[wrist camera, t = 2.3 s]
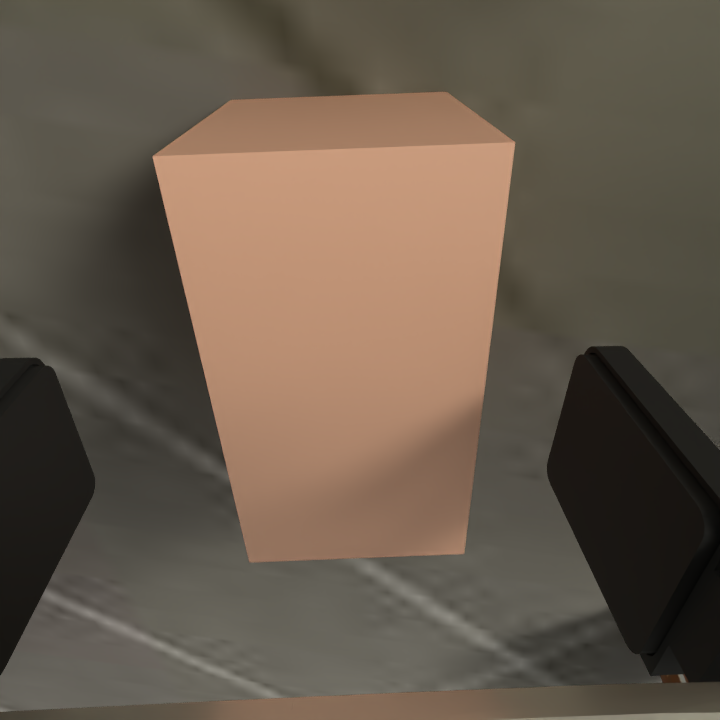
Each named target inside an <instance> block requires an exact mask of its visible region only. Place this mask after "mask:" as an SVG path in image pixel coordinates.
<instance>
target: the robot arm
mask: <svg viewBox="0 0 720 720" xmlns="http://www.w3.org/2000/svg"><path fill="white" fill-rule="evenodd" d="M547 474H548V479H549V482H550V484H551V486H552V488H553V490H554V493H555V495H556V497H557V499H558V501H559V503H560V505H561V507H562V509H563V512H564V514H565V516H566V518H567V520H568V522H569V524H570V526H571V528H572V531H573V533H574V535H575V537H576V539H577V541H578V543H579V545H580V547H581V550H582V552H583V554H584V556H585V558H586V560H587V562H588V564H589V566H590V569H591V571H592V573H593V575H594V577H595V579H596V581H597V583H598V585H599V588H600V590H601V592H602V594H603V596H604V598H605V600H606V602H607V604H608V607H609V609H610V611H611V613H612V615H613V617H614V619H615V621H616V623H617V626H618V628H619V630H620V632H621V634H622V636H623V638H624V640H625V642H626V644H627V646H628V648H629V649H630V650H631V651H632V652H633V653H635V654H640V655H641V657H642V659H643V661H644V663H645V665H646V667H647V669H648V671H649V673H650V676H657V675H679V674H685V676H686V677H687V679H688V681H689V683H646V684H604V685H579V686H554V687H530V688H505V689H480V690H455V691H430V692H407V693H384V694H362V695H340V696H317V697H295V698H274V699H252V700H230V701H209V702H187V703H166V704H147V705H127V706H107V707H88V708H68V709H48V710H29V711H9V712H0V720H720V450H719V449H718V448H717V447H716V446H715V445H714V444H713V442H712V441H711V440H710V439H709V438H708V437H707V436H706V435H705V434H704V433H703V431H702V430H701V429H700V428H699V427H698V426H697V425H696V424H695V423H694V422H693V420H692V419H691V418H690V417H689V416H688V415H687V414H686V413H685V412H684V411H683V409H682V408H681V407H680V406H679V405H678V404H677V403H676V402H675V401H674V400H673V398H672V397H671V396H670V395H669V394H668V393H667V392H666V391H665V390H664V389H663V387H662V386H661V385H660V384H659V383H658V382H657V381H656V380H655V379H654V377H653V376H652V375H651V374H650V373H649V372H648V371H647V370H646V369H645V368H644V366H643V365H642V364H641V363H640V362H639V361H638V360H637V359H636V358H635V357H634V355H633V354H632V353H631V352H630V351H629V350H628V349H627V348H625V347H624V346H597V347H590V348H588V349H587V351H586V352H585V354H584V355H579V356H578V357H577V358H576V360H575V363H574V367H573V370H572V374H571V378H570V381H569V385H568V389H567V392H566V396H565V400H564V403H563V407H562V411H561V415H560V418H559V422H558V426H557V429H556V433H555V437H554V440H553V444H552V448H551V452H550V455H549V459H548V463H547ZM94 489H95V477H94V474H93V471H92V468H91V466H90V463H89V460H88V458H87V455H86V452H85V450H84V447H83V445H82V442H81V439H80V437H79V434H78V431H77V429H76V426H75V423H74V421H73V418H72V415H71V413H70V410H69V408H68V405H67V402H66V400H65V397H64V394H63V392H62V389H61V386H60V384H59V381H58V378H57V376H56V373H55V371H54V370H53V369H52V368H51V367H50V366H45V365H44V363H43V362H42V361H41V360H40V359H38V358H3V359H0V675H1V674H2V672H3V670H4V669H5V667H6V665H7V663H8V661H9V659H10V657H11V655H12V653H13V651H14V649H15V647H16V645H17V643H18V641H19V639H20V637H21V635H22V634H23V632H24V630H25V628H26V626H27V624H28V622H29V620H30V618H31V616H32V614H33V612H34V610H35V608H36V606H37V604H38V602H39V600H40V598H41V596H42V594H43V592H44V590H45V588H46V586H47V584H48V582H49V581H50V579H51V577H52V575H53V573H54V571H55V569H56V567H57V565H58V563H59V561H60V559H61V557H62V555H63V553H64V551H65V549H66V547H67V545H68V543H69V541H70V539H71V537H72V535H73V533H74V531H75V529H76V528H77V526H78V524H79V522H80V520H81V518H82V516H83V514H84V512H85V510H86V508H87V506H88V504H89V502H90V500H91V498H92V496H93V493H94Z"/></svg>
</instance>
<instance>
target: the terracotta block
mask: <svg viewBox="0 0 720 720" xmlns="http://www.w3.org/2000/svg"><path fill="white" fill-rule="evenodd" d="M514 148H515V142H514V141H513V140H511V139H510V138H509V137H507V136H506V135H505V134H503V133H502V132H501V131H499V130H498V129H496V128H495V127H494V126H492V125H491V124H490V123H488V122H487V121H486V120H484V119H483V118H481V117H480V116H479V115H477V114H476V113H475V112H473V111H472V110H471V109H469V108H468V107H466V106H465V105H464V104H462V103H461V102H460V101H458V100H457V99H456V98H454V97H453V96H452V95H450V94H449V93H447V92H424V93H398V94H372V95H346V96H320V97H294V98H268V99H242V100H230V101H229V102H227V103H226V104H225V105H223V106H222V107H220V108H219V109H218V110H216V111H215V112H213V113H212V114H211V115H209V116H208V117H207V118H205V119H204V120H202V121H201V122H200V123H198V124H197V125H195V126H194V127H193V128H191V129H190V130H188V131H187V132H186V133H184V134H183V135H181V136H180V137H179V138H177V139H176V140H174V141H173V142H172V143H170V144H169V145H167V146H166V147H165V148H163V149H162V150H160V151H159V152H158V153H156V154H155V155H154V156H153V161H154V165H155V169H156V173H157V177H158V182H159V186H160V190H161V194H162V198H163V203H164V207H165V211H166V215H167V219H168V223H169V228H170V232H171V236H172V240H173V244H174V249H175V253H176V257H177V261H178V265H179V270H180V274H181V278H182V282H183V286H184V290H185V295H186V299H187V303H188V307H189V311H190V316H191V320H192V324H193V328H194V332H195V337H196V341H197V345H198V349H199V353H200V357H201V362H202V366H203V370H204V374H205V378H206V383H207V387H208V391H209V395H210V399H211V403H212V408H213V412H214V416H215V420H216V424H217V429H218V433H219V437H220V441H221V445H222V450H223V454H224V458H225V462H226V466H227V470H228V475H229V479H230V483H231V487H232V491H233V496H234V500H235V504H236V508H237V512H238V517H239V521H240V525H241V529H242V533H243V537H244V542H245V546H246V550H247V554H248V558H249V562H274V561H299V560H324V559H349V558H374V557H399V556H424V555H449V554H464V552H465V543H466V535H467V527H468V519H469V511H470V503H471V495H472V487H473V479H474V471H475V463H476V455H477V447H478V439H479V430H480V422H481V414H482V406H483V398H484V390H485V382H486V374H487V366H488V358H489V350H490V342H491V334H492V326H493V318H494V309H495V301H496V293H497V285H498V277H499V269H500V261H501V253H502V245H503V237H504V229H505V221H506V213H507V205H508V196H509V188H510V180H511V172H512V164H513V156H514Z"/></svg>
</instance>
